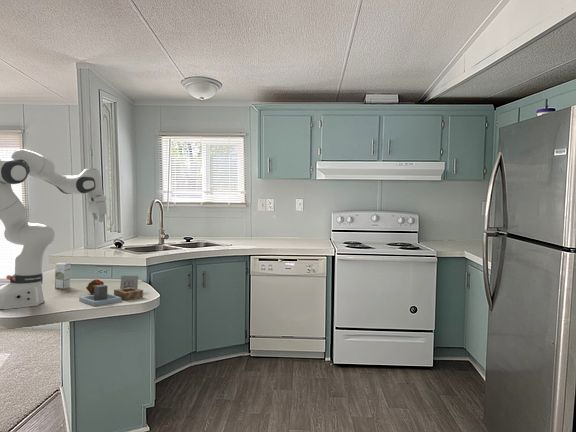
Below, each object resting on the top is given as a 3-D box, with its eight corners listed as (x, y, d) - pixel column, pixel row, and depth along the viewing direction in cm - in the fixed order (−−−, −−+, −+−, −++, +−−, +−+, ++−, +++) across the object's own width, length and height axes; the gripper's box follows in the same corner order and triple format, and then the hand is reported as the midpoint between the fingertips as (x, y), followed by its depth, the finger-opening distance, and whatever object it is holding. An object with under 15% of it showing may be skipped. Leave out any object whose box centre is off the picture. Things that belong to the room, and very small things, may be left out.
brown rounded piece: (95, 299, 217) (92, 297, 227) (109, 288, 222) (105, 287, 232) (85, 286, 215) (82, 285, 225) (99, 276, 220) (96, 276, 230)
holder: (125, 300, 210) (125, 293, 210) (113, 297, 217) (114, 289, 216) (142, 297, 219) (143, 290, 219) (131, 294, 225) (131, 287, 225)
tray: (94, 306, 197) (94, 302, 197) (79, 300, 206) (79, 297, 206) (121, 301, 209) (121, 297, 209) (106, 296, 217) (106, 292, 217)
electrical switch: (119, 292, 229) (120, 275, 229) (121, 291, 234) (122, 275, 234) (137, 292, 231) (138, 276, 231) (138, 291, 236) (139, 275, 236)
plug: (98, 302, 204) (99, 287, 204) (93, 301, 207) (94, 285, 207) (107, 301, 208) (107, 285, 208) (102, 299, 210) (102, 284, 210)
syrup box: (70, 287, 236) (71, 262, 236) (63, 289, 230) (64, 263, 230) (61, 286, 237) (61, 261, 236) (54, 288, 231) (55, 263, 230)
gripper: (83, 195, 234) (86, 219, 237) (95, 199, 219) (98, 224, 222) (94, 194, 238) (98, 217, 241) (107, 197, 223) (110, 222, 226)
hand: (98, 220), depth 231 cm, fingers open, 8 cm apart
